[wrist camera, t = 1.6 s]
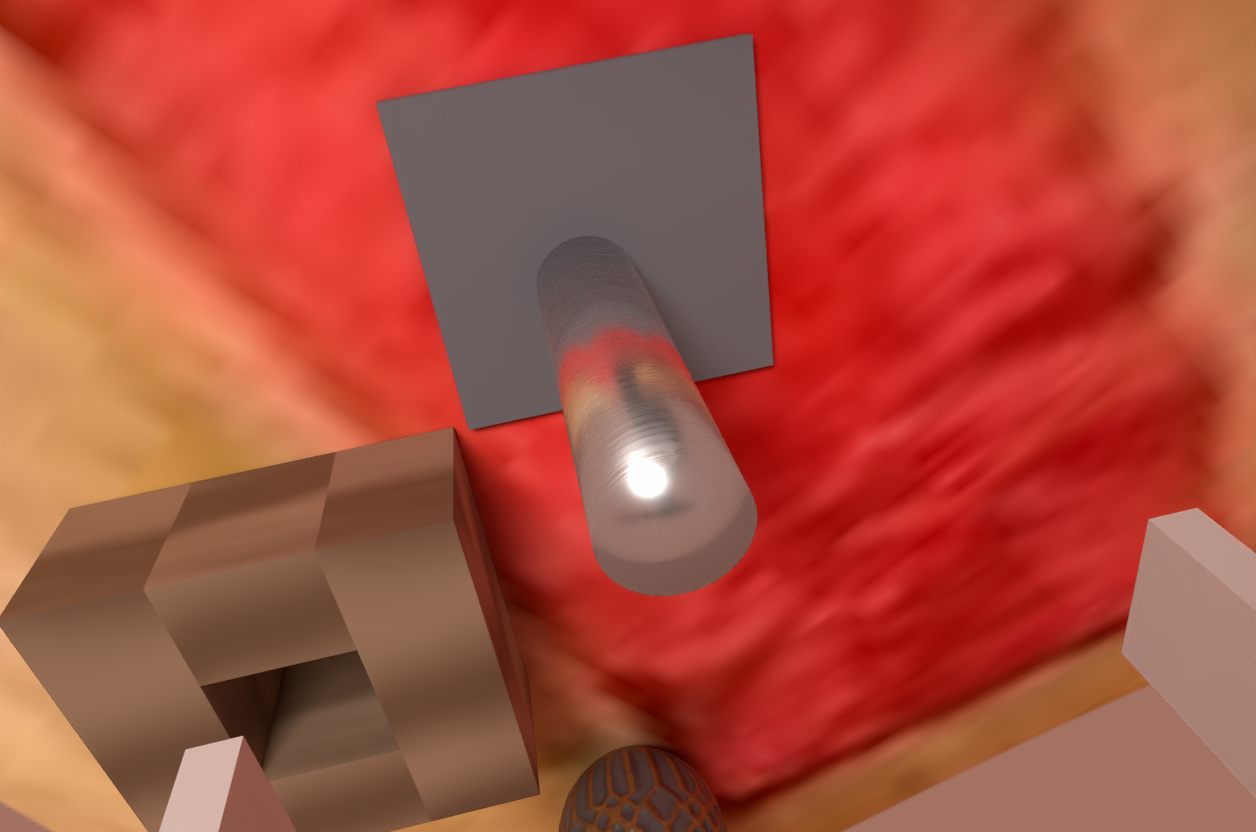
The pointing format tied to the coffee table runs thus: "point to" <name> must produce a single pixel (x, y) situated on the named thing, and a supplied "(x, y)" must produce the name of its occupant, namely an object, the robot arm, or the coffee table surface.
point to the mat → (588, 208)
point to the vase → (641, 796)
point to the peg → (639, 429)
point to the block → (291, 637)
